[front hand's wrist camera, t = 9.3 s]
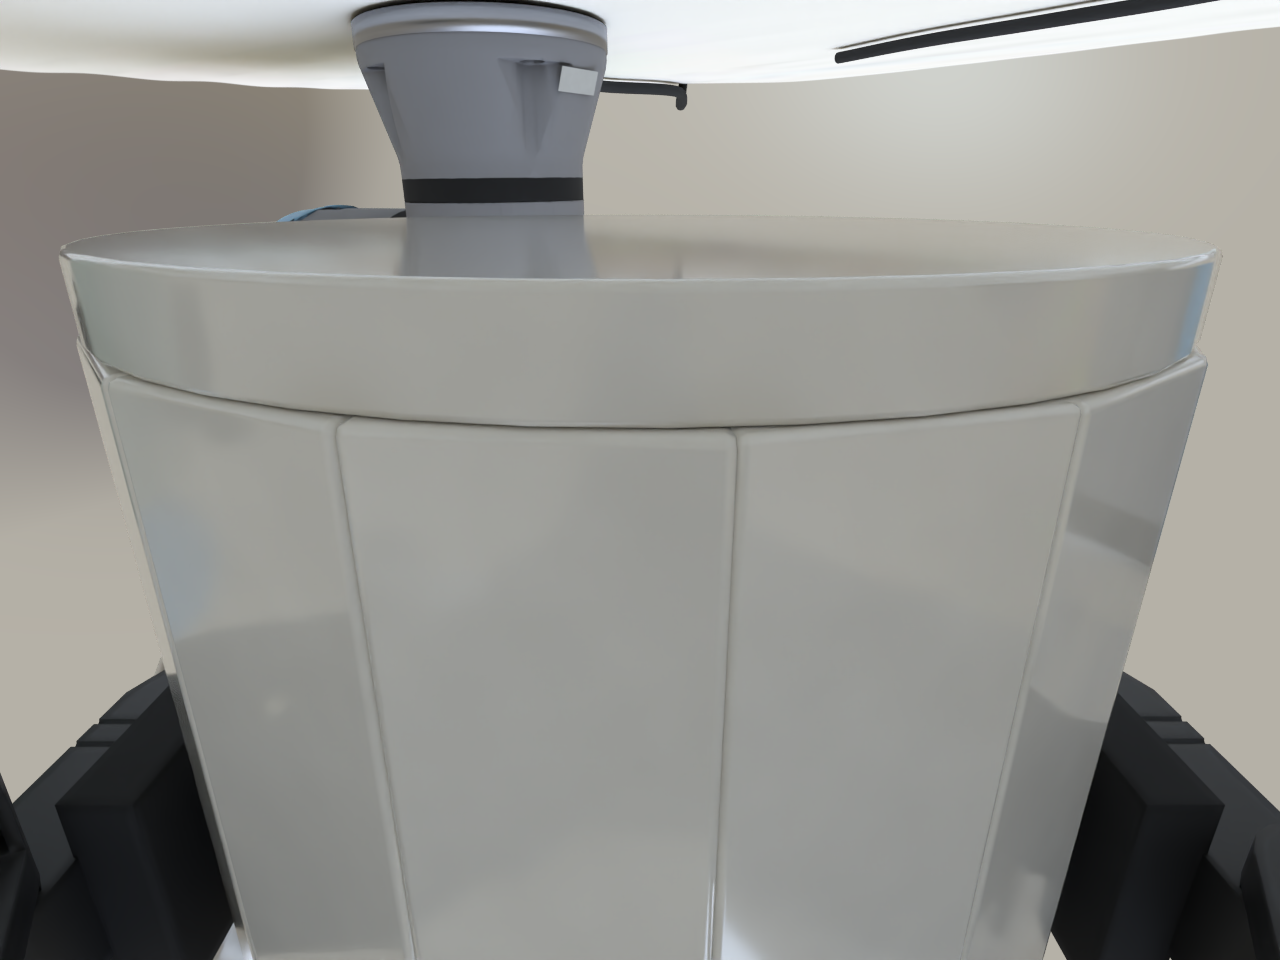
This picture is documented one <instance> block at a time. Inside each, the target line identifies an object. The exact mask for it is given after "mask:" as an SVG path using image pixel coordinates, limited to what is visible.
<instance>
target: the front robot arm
mask: <svg viewBox="0 0 1280 960" xmlns="http://www.w3.org/2000/svg"><path fill="white" fill-rule="evenodd" d="M1212 1H1218V0H1126V1H1120V2H1114V3H1108V4H1102V5H1096V6H1090V7H1084V8H1078V9H1072V10H1066V11H1061V12H1055V13H1049V14H1043V15H1037V16H1031V17H1025V18H1019V19H1013V20H1007V21H1001V22H995V23H989V24H983V25H977V26H971V27H965V28H959V29H953V30H948V31H942V32H936V33H931V34H925V35H920V36H915V37H910V38H904V39H899V40H894V41H890V42H885V43H880V44H875V45H871V46H866V47H861V48H857V49H852V50H847V51H842V52H838V53H836V55H835V62H836V63H844V62H849V61H854V60H859V59H864V58H869V57H874V56H880V55H885V54H890V53H895V52H901V51H906V50H912V49H918V48H924V47H929V46H935V45H942V44H948V43H954V42H961V41H967V40H974V39H980V38H987V37H993V36H1000V35H1007V34H1013V33H1020V32H1026V31H1033V30H1039V29H1045V28H1052V27H1058V26H1065V25H1071V24H1077V23H1084V22H1090V21H1097V20H1103V19H1110V18H1116V17H1123V16H1129V15H1135V14H1141V13H1148V12H1154V11H1160V10H1166V9H1172V8H1178V7H1184V6H1189V5H1195V4H1201V3H1206V2H1212ZM233 923H234V921H233V918H232V914H231V910H230V907H229V903H228V899H227V896H226V892H225V888H224V885H223V881H222V877H221V874H220V870H219V866H218V863H217V859H216V855H215V852H214V848H213V844H212V841H211V837H210V833H209V830H208V826H207V822H206V819H205V815H204V811H203V808H202V804H201V800H200V796H199V793H198V789H197V785H196V782H195V778H194V774H193V771H192V767H191V763H190V760H189V756H188V752H187V749H186V745H185V741H184V738H183V734H182V730H181V727H180V723H179V719H178V716H177V712H176V708H175V705H174V701H173V697H172V694H171V690H170V686H169V683H168V679H167V675H166V671H165V670H163V671H161V672H160V673H158V674H156V675H155V676H153V677H151V678H150V679H148V680H147V681H145V682H143V683H141V684H140V685H138V686H136V687H135V688H133V689H131V690H130V691H128V692H126V693H125V694H124V695H123V696H122V697H121V698H120V699H119V700H118V701H117V702H116V703H115V704H114V705H113V706H112V707H111V708H110V709H109V710H108V711H107V712H106V713H105V714H104V715H103V716H102V717H101V718H100V719H99V724H94V725H93V726H92V727H91V728H90V729H88V730H87V732H85V733H84V734H83V735H82V736H81V737H80V738H79V739H78V740H77V744H76V746H75V747H70V748H69V749H68V750H67V751H66V752H65V753H64V754H63V755H62V756H61V757H60V758H59V759H58V760H57V761H56V762H55V763H54V764H53V765H52V766H51V767H50V768H48V769H47V770H46V771H45V772H44V773H43V774H42V775H41V776H40V777H39V778H38V779H37V780H36V781H35V782H34V783H33V784H32V785H31V786H30V787H29V788H28V789H27V790H26V791H25V792H24V793H23V794H22V795H21V796H20V797H19V798H18V799H17V800H16V801H15V802H14V803H13V804H12V802H11V799H10V797H9V794H8V792H7V789H6V787H5V784H4V781H3V779H2V776H1V774H0V960H213V959H214V957H215V955H216V953H217V952H218V950H219V948H220V946H221V944H222V943H223V941H224V939H225V937H226V935H227V934H228V932H229V930H230V928H231V926H232V925H233ZM1051 932H1052V934H1053V936H1054V937H1055V939H1056V941H1057V943H1058V945H1059V946H1060V948H1061V950H1062V952H1063V954H1064V955H1065V957H1066V959H1067V960H1169V958H1171V959H1172V960H1280V811H1278V809H1276V808H1275V807H1274V806H1273V805H1272V804H1271V803H1270V802H1269V801H1268V800H1267V799H1266V798H1265V797H1264V796H1263V795H1262V794H1261V793H1260V792H1259V791H1258V790H1257V789H1256V788H1255V787H1254V786H1253V785H1252V784H1251V783H1250V782H1249V781H1248V780H1247V779H1245V778H1244V777H1243V776H1242V775H1241V774H1240V773H1239V772H1238V771H1237V770H1236V769H1235V768H1234V767H1233V766H1232V765H1231V764H1230V763H1229V762H1228V761H1227V760H1226V759H1225V758H1224V757H1223V756H1222V755H1221V754H1220V753H1219V752H1218V751H1217V750H1216V749H1215V748H1214V747H1212V746H1211V745H1210V744H1205V743H1204V738H1203V737H1202V736H1201V735H1200V734H1199V733H1198V732H1197V731H1196V730H1195V729H1194V728H1193V727H1192V726H1191V725H1190V724H1189V723H1188V722H1183V721H1182V719H1181V716H1180V715H1179V714H1178V713H1177V712H1176V711H1175V710H1174V709H1173V708H1172V707H1171V706H1170V705H1169V704H1168V703H1167V702H1166V701H1165V700H1164V699H1163V698H1162V697H1161V696H1160V695H1159V694H1158V693H1157V692H1156V691H1155V690H1153V689H1152V688H1150V687H1148V686H1147V685H1145V684H1143V683H1142V682H1140V681H1138V680H1137V679H1135V678H1133V677H1132V676H1130V675H1128V674H1126V673H1125V672H1123V673H1122V676H1121V680H1120V683H1119V687H1118V691H1117V694H1116V698H1115V701H1114V705H1113V709H1112V712H1111V716H1110V719H1109V723H1108V727H1107V730H1106V734H1105V737H1104V741H1103V745H1102V748H1101V752H1100V755H1099V759H1098V763H1097V766H1096V770H1095V773H1094V777H1093V781H1092V784H1091V788H1090V791H1089V795H1088V799H1087V802H1086V806H1085V809H1084V813H1083V817H1082V820H1081V824H1080V827H1079V831H1078V835H1077V838H1076V842H1075V845H1074V849H1073V853H1072V856H1071V860H1070V863H1069V867H1068V871H1067V874H1066V878H1065V882H1064V885H1063V889H1062V892H1061V896H1060V900H1059V903H1058V907H1057V910H1056V914H1055V918H1054V921H1053V925H1052V928H1051Z"/></svg>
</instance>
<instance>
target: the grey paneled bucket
mask: <svg viewBox="0 0 1280 960" xmlns="http://www.w3.org/2000/svg"><path fill="white" fill-rule="evenodd" d="M1222 257H1223V255H1222V251H1221V250H1220V249H1219V248H1218V247H1217V246H1215V245H1214V244H1211V243H1209V242H1205V241H1201V240H1197V239H1193V238H1188V237H1181V236H1175V235H1168V234H1160V233H1151V232H1142V231H1132V230H1120V229H1108V228H1095V227H1081V226H1066V225H1049V224H1030V223H1010V222H989V221H964V220H937V219H905V218H868V217H823V216H758V215H514V216H451V217H405V218H369V219H338V220H310V221H286V222H265V223H245V224H227V225H210V226H195V227H181V228H168V229H156V230H145V231H134V232H126V233H118V234H110V235H102V236H97V237H91V238H85V239H80V240H78V241H75V242H72V243H69V244H66V245H64V246H62V247H61V251H60V255H59V261H60V265H61V268H62V272H63V276H64V280H65V284H66V287H67V291H68V295H69V298H70V302H71V306H72V310H73V313H74V317H75V321H76V324H77V328H78V332H79V336H78V338H77V343H76V344H77V348H78V352H79V355H80V359H81V363H82V366H83V370H84V374H85V377H86V381H87V385H88V388H89V392H90V396H91V399H92V403H93V407H94V410H95V414H96V418H97V421H98V425H99V429H100V432H101V436H102V440H103V444H104V447H105V451H106V455H107V458H108V462H109V466H110V469H111V473H112V477H113V480H114V484H115V488H116V491H117V495H118V499H119V502H120V506H121V509H122V513H123V517H124V520H125V524H126V528H127V532H128V535H129V539H130V542H131V546H132V550H133V554H134V557H135V561H136V565H137V569H138V572H139V576H140V579H141V583H142V587H143V590H144V594H145V598H146V602H147V605H148V609H149V613H150V616H151V620H152V624H153V627H154V631H155V635H156V638H157V642H158V646H159V649H160V653H161V657H162V660H163V664H164V668H165V671H166V675H167V679H168V683H169V686H170V690H171V694H172V697H173V701H174V705H175V708H176V712H177V716H178V719H179V723H180V727H181V730H182V734H183V738H184V741H185V745H186V749H187V752H188V756H189V760H190V763H191V767H192V771H193V774H194V778H195V782H196V785H197V789H198V793H199V796H200V800H201V804H202V808H203V811H204V815H205V819H206V822H207V826H208V830H209V833H210V837H211V841H212V844H213V848H214V852H215V855H216V859H217V863H218V866H219V870H220V874H221V877H222V881H223V885H224V888H225V892H226V896H227V899H228V903H229V907H230V910H231V914H232V918H233V921H234V925H235V929H236V933H237V936H238V940H239V944H240V947H241V951H242V955H243V958H244V960H1043V957H1044V954H1045V950H1046V946H1047V943H1048V939H1049V935H1050V932H1051V928H1052V925H1053V921H1054V918H1055V914H1056V910H1057V907H1058V903H1059V900H1060V896H1061V892H1062V889H1063V885H1064V882H1065V878H1066V874H1067V871H1068V867H1069V863H1070V860H1071V856H1072V853H1073V849H1074V845H1075V842H1076V838H1077V835H1078V831H1079V827H1080V824H1081V820H1082V817H1083V813H1084V809H1085V806H1086V802H1087V799H1088V795H1089V791H1090V788H1091V784H1092V781H1093V777H1094V773H1095V770H1096V766H1097V763H1098V759H1099V755H1100V752H1101V748H1102V745H1103V741H1104V737H1105V734H1106V730H1107V727H1108V723H1109V719H1110V716H1111V712H1112V709H1113V705H1114V701H1115V698H1116V694H1117V691H1118V687H1119V683H1120V680H1121V676H1122V673H1123V669H1124V665H1125V662H1126V658H1127V654H1128V651H1129V647H1130V644H1131V640H1132V636H1133V633H1134V629H1135V626H1136V622H1137V618H1138V615H1139V611H1140V608H1141V604H1142V600H1143V597H1144V593H1145V590H1146V586H1147V582H1148V579H1149V575H1150V571H1151V568H1152V564H1153V561H1154V557H1155V554H1156V550H1157V546H1158V542H1159V539H1160V536H1161V532H1162V528H1163V525H1164V521H1165V518H1166V514H1167V510H1168V507H1169V503H1170V500H1171V496H1172V492H1173V489H1174V485H1175V481H1176V478H1177V474H1178V471H1179V467H1180V464H1181V460H1182V456H1183V453H1184V449H1185V445H1186V442H1187V438H1188V435H1189V431H1190V427H1191V424H1192V420H1193V417H1194V413H1195V409H1196V406H1197V402H1198V398H1199V395H1200V391H1201V388H1202V384H1203V381H1204V377H1205V373H1206V370H1207V366H1208V363H1207V359H1206V356H1205V355H1204V354H1203V352H1202V351H1201V350H1200V349H1199V347H1198V346H1197V343H1198V342H1199V340H1200V339H1201V335H1202V331H1203V327H1204V324H1205V320H1206V316H1207V313H1208V309H1209V305H1210V302H1211V298H1212V294H1213V291H1214V287H1215V283H1216V279H1217V276H1218V272H1219V268H1220V265H1221V261H1222Z"/></svg>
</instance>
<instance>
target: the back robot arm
mask: <svg viewBox="0 0 1280 960" xmlns="http://www.w3.org/2000/svg"><path fill="white" fill-rule="evenodd" d="M351 27H352V35H353V42H354V50H355V51H356V55H357V60H358V64H359V67H360V69H361V72H362V74H363V76H364V79H365V81H366V84H367V86H368V88H369V91H370V93H371V95H372V98H373V100H374V102H375V105H376V107H377V110H378V112H379V114H380V117H381V119H382V121H383V124H384V126H385V128H386V131H387V133H388V136H389V138H390V140H391V143H392V145H393V147H394V150H395V152H396V154H397V157H398V160H399V163H400V168H401V174H402V182H403V190H404V199H405V208H406V209H387V208H357V207H354V206H347V205H330V206H325V207H321V208H316V209H310V210H302V211H298V212H295V213H292V214H290V215H287V216H285V217H283V218H281V219H280V220H278V221H277V222H286V221H310V220H338V219H369V218H405V217H451V216H514V215H584V200H583V172H582V164H583V156H584V152H585V148H586V144H587V140H588V136H589V132H590V129H591V125H592V121H593V117H594V113H595V109H596V105H597V101H598V97H599V93H600V92H608V93H625V94H651V95H667V96H675V97H677V98H676V107H677V109H678V110H683V109H684V108H685V107H686V105H687V94H686V91H687V84H679V85H678V86H674V85H667V84H655V83H634V82H614V81H603V78H604V74H605V70H606V56H607V28H606V26H605V25H604V24H603V23H602V22H600V21H598V20H596V19H594V18H592V17H589V16H586V15H583V14H579V13H575V12H571V11H566V10H561V9H555V8H549V7H542V6H533V5H524V4H512V3H496V2H429V3H414V4H404V5H396V6H389V7H383V8H379V9H374V10H370V11H367V12H364V13H362V14H360V15H358V16H356V17H355V18H354V19H353V20H352V21H351ZM163 670H165V668H164V664H163V660H162V657H161V658H160V661H159V664H158V667H157V669H156V672H155V675H156V674H158V673H160V672H161V671H163ZM155 675H154V676H155ZM213 960H244V958H243V955H242V951H241V947H240V944H239V940H238V936H237V933H236V929H235V925H234V923H233V925H232V926H231V928H230V930H229V932H228V934H227V935H226V937H225V939H224V941H223V943H222V944H221V946H220V948H219V950H218V952H217V953H216V955H215V957H214V959H213Z"/></svg>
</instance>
